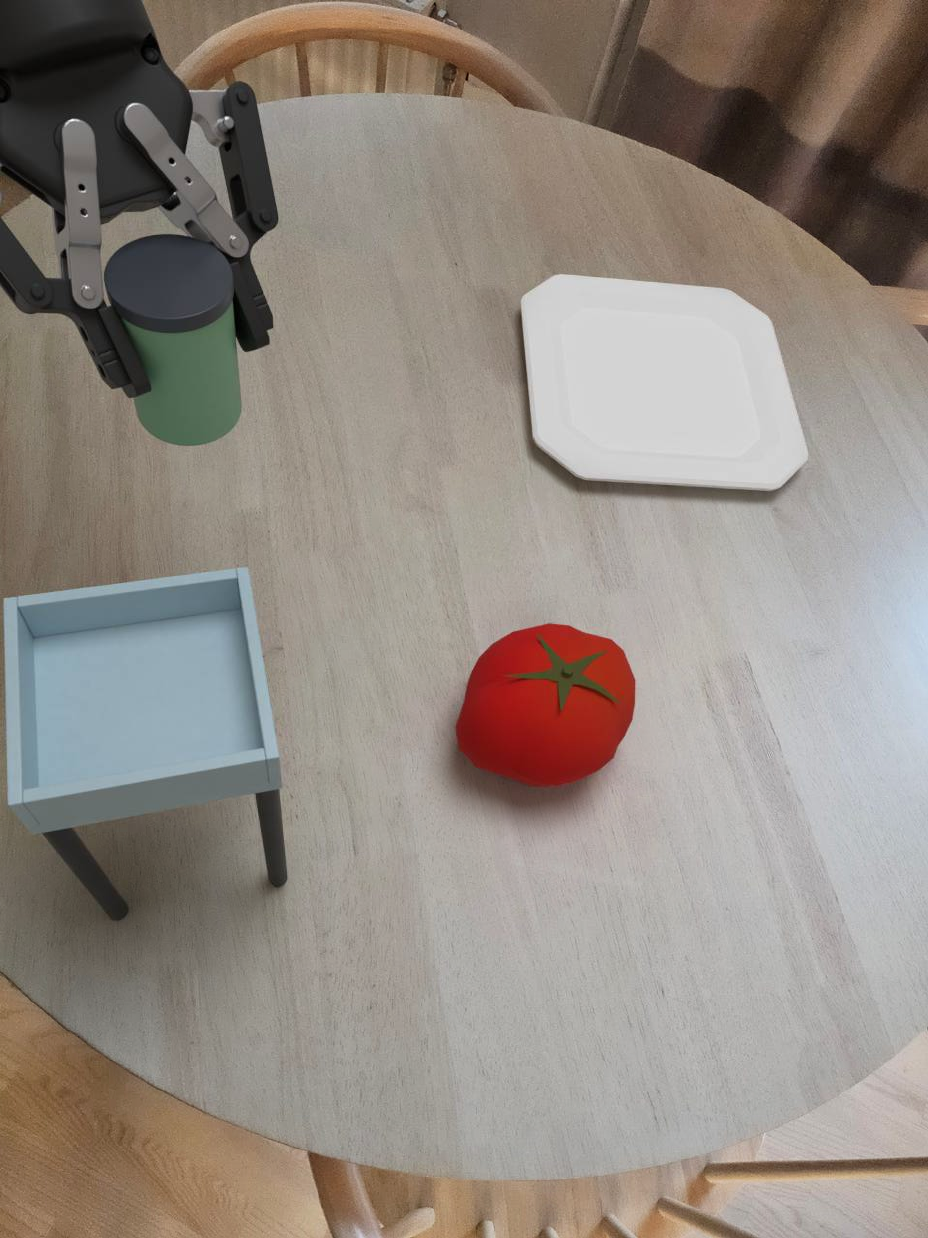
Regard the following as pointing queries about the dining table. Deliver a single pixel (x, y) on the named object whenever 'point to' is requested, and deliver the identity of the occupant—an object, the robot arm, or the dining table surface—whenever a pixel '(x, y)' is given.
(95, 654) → the tray
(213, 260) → the plastic tub
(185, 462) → the dining table surface
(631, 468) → the plate
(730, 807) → the dining table surface
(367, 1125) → the dining table surface
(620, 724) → the tomato
